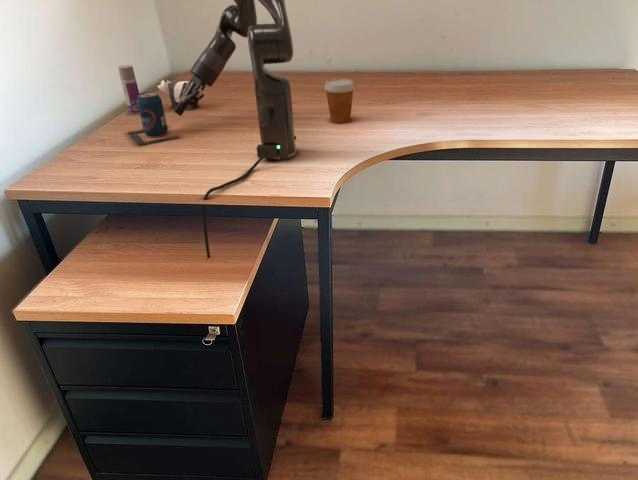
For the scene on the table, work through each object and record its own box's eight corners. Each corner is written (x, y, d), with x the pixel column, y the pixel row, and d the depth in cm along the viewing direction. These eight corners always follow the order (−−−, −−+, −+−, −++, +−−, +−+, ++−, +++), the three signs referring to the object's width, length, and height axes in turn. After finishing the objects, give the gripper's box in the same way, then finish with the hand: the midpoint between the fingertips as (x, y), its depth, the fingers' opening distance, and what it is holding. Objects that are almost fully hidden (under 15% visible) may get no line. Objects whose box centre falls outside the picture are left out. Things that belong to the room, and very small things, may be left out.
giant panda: (202, 106, 192) (197, 78, 187) (193, 110, 188) (188, 81, 182) (166, 103, 196) (161, 75, 191) (157, 107, 191) (151, 79, 186)
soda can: (140, 137, 165) (130, 96, 159) (152, 129, 171) (143, 90, 164) (160, 138, 164) (151, 98, 157) (172, 131, 169) (164, 91, 163)
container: (145, 109, 189) (134, 64, 181) (140, 114, 185) (130, 67, 177) (131, 110, 189) (120, 65, 181) (127, 114, 185) (115, 68, 177)
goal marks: (165, 126, 174) (165, 125, 174) (179, 138, 164) (179, 137, 164) (127, 133, 168) (127, 132, 168) (139, 146, 159) (138, 145, 159)
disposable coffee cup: (339, 114, 182) (338, 76, 175) (361, 119, 176) (360, 81, 170) (319, 121, 176) (317, 83, 169) (342, 127, 170) (340, 87, 164)
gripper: (191, 54, 168) (160, 101, 169) (206, 62, 159) (173, 111, 160) (211, 70, 173) (180, 115, 174) (226, 78, 164) (194, 126, 165)
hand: (177, 113), depth 167 cm, fingers closed
